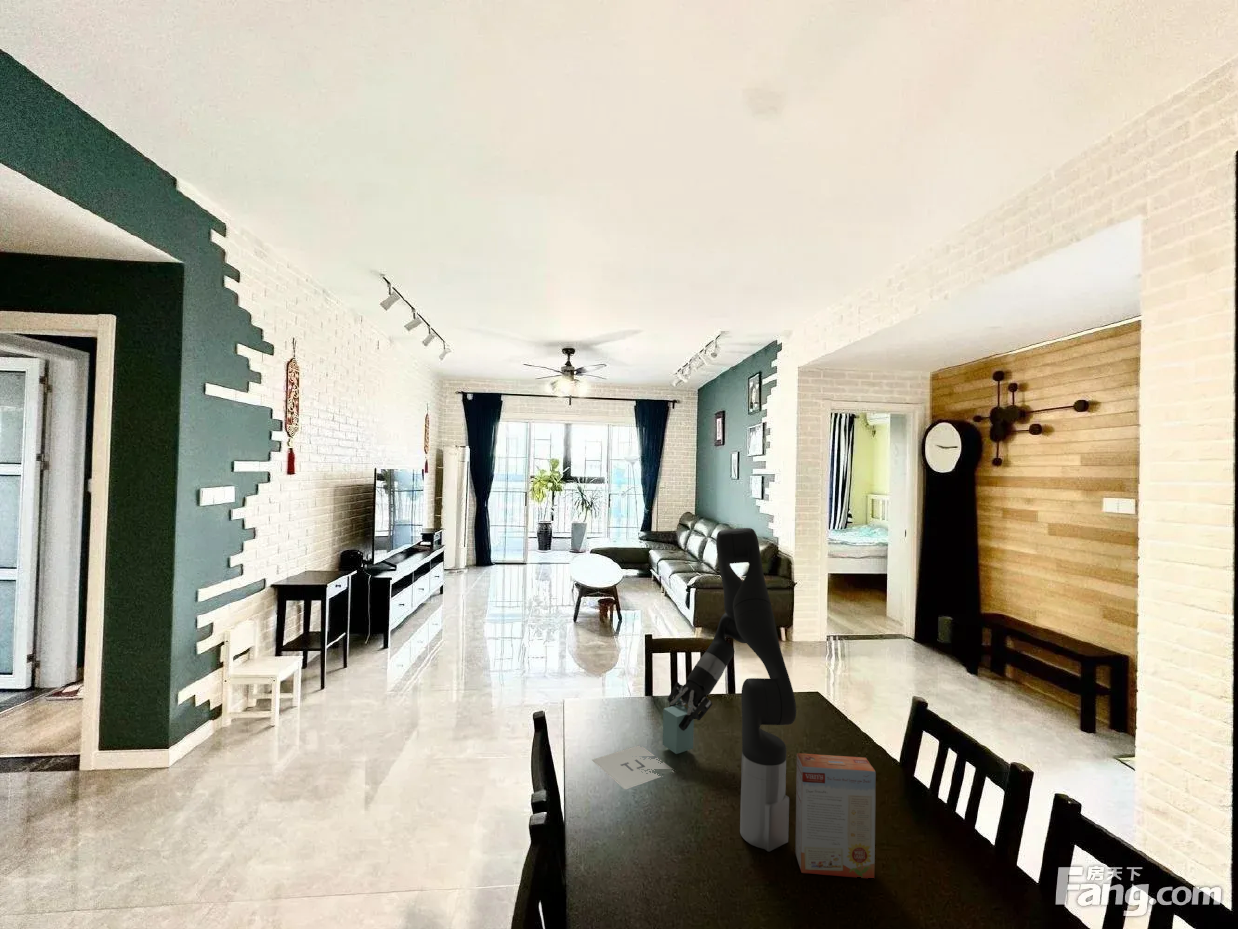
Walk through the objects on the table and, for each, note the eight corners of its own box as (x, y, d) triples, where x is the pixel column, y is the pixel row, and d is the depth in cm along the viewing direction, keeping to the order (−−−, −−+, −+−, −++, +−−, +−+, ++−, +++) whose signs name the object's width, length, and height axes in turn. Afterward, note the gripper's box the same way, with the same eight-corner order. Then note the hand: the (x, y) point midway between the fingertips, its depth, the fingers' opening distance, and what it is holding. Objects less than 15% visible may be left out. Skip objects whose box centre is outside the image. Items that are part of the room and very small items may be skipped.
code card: (676, 771, 144) (676, 771, 144) (624, 790, 135) (624, 789, 135) (640, 745, 157) (640, 744, 157) (591, 760, 148) (591, 759, 148)
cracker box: (864, 859, 113) (867, 756, 113) (875, 881, 107) (877, 772, 107) (793, 853, 114) (796, 750, 115) (800, 874, 108) (803, 766, 109)
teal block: (693, 748, 154) (694, 712, 154) (676, 754, 150) (677, 716, 150) (679, 739, 159) (680, 704, 159) (662, 744, 155) (663, 708, 155)
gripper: (683, 657, 165) (650, 706, 158) (717, 673, 153) (683, 727, 146) (696, 672, 168) (664, 721, 161) (731, 689, 156) (697, 742, 149)
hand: (673, 723), depth 154 cm, fingers closed on teal block, 6 cm apart
